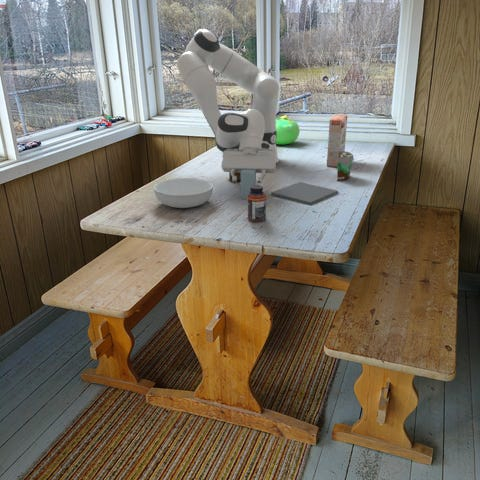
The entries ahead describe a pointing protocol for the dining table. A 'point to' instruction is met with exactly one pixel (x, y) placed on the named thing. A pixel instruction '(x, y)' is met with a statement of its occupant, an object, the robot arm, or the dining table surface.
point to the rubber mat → (304, 193)
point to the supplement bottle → (256, 204)
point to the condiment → (234, 175)
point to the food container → (344, 165)
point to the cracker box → (336, 139)
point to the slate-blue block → (247, 181)
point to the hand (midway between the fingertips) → (247, 181)
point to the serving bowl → (183, 192)
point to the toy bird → (286, 130)
